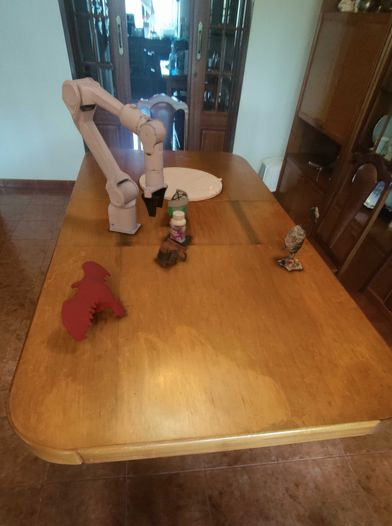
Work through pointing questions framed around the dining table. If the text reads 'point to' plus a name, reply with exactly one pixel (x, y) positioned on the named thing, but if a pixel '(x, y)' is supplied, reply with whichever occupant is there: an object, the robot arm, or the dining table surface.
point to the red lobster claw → (89, 301)
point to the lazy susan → (189, 183)
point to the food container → (178, 203)
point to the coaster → (184, 241)
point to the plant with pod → (296, 243)
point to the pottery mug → (170, 252)
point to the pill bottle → (178, 226)
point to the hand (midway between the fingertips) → (155, 211)
